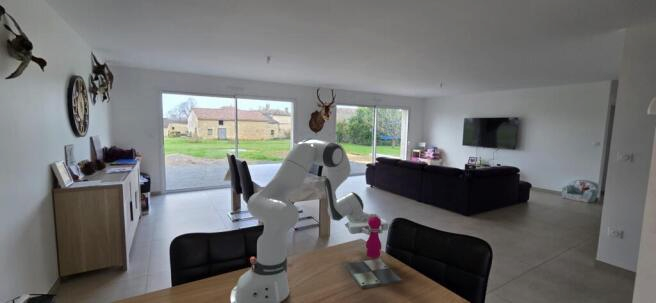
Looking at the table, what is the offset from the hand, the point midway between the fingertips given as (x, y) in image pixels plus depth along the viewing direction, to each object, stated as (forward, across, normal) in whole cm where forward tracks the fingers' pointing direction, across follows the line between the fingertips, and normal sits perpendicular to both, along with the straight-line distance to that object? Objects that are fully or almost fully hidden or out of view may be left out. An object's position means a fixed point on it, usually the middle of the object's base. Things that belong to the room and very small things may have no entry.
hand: (375, 232), depth 127 cm
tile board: (+4, -3, +18) cm, 18 cm away
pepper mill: (-1, 0, +12) cm, 12 cm away
